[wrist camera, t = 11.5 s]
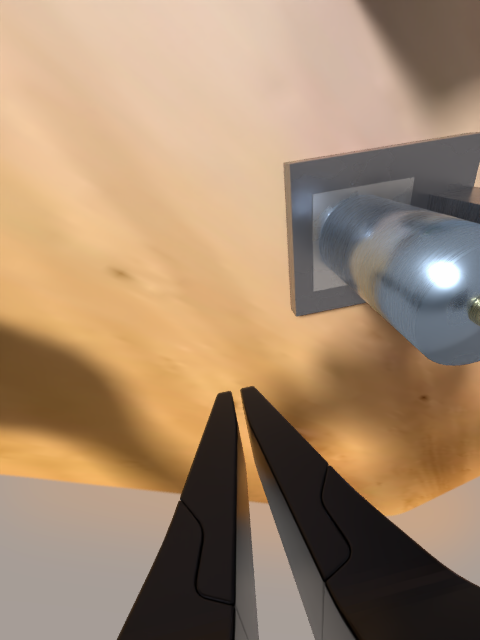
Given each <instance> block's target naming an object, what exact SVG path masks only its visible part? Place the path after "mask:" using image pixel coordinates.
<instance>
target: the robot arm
mask: <svg viewBox="0 0 480 640" xmlns="http://www.w3.org/2000/svg"><path fill="white" fill-rule="evenodd" d="M240 392H241V398H242V404H243V409H244V414H245V419H246V424H247V428H248V433H249V438H250V442H251V447H252V452H253V456H254V460H255V464H256V467H257V471H258V474H259V477H260V480H261V482H262V485H263V488H264V491H265V494H266V497H267V500H268V503H269V506H270V509H271V511H272V515H273V517H274V520H275V523H276V526H277V529H278V532H279V535H280V538H281V541H282V544H283V547H284V550H285V552H286V556H287V558H288V561H289V564H290V567H291V570H292V573H293V576H294V579H295V582H296V585H297V588H298V590H299V593H300V596H301V599H302V602H303V605H304V608H305V611H306V614H307V617H308V620H309V623H310V626H311V628H312V631H313V634H314V637H315V640H480V587H479V586H477V585H475V584H473V583H471V582H470V581H468V580H466V579H464V578H463V577H461V576H459V575H458V574H456V573H455V572H453V571H452V570H450V569H449V568H447V567H446V566H444V565H443V564H442V563H440V562H439V561H438V560H437V559H436V558H434V557H433V556H432V555H431V554H429V553H428V552H427V551H426V550H425V549H423V548H422V547H421V546H420V545H419V544H417V543H416V542H415V541H414V540H412V538H410V537H409V536H408V535H407V534H405V533H404V532H403V531H402V530H401V529H400V528H398V527H397V526H396V525H395V524H394V523H392V522H391V521H390V520H389V519H388V518H386V517H385V516H384V515H383V514H382V513H380V512H379V511H378V510H377V509H376V508H375V507H374V506H372V505H371V504H370V503H369V502H368V501H367V500H366V499H364V498H363V497H362V496H361V495H360V494H359V493H358V492H357V491H356V490H355V489H354V488H352V487H351V486H350V485H349V484H348V483H347V482H346V481H345V480H344V479H343V478H342V477H341V476H340V475H339V474H338V473H337V472H336V471H335V470H334V469H333V467H332V466H329V464H328V463H327V461H326V460H325V459H324V458H323V457H322V456H321V455H320V454H319V453H318V452H317V451H316V450H315V449H314V448H313V447H312V446H311V445H310V444H309V443H308V442H307V441H306V440H305V439H304V438H303V437H302V436H301V435H300V434H299V433H298V431H297V430H296V429H295V428H294V427H293V426H292V425H291V424H290V423H289V422H288V421H287V420H286V419H285V418H284V417H283V416H282V415H281V414H280V413H279V412H278V411H277V410H276V409H275V408H274V407H273V406H272V405H271V404H270V403H269V401H268V400H267V399H266V398H265V397H264V396H263V395H262V394H261V393H260V392H259V391H258V390H257V389H256V388H255V387H253V386H250V387H246V388H242V389H241V390H240ZM180 500H181V501H179V502H178V504H177V507H176V510H175V513H174V516H173V518H172V521H171V524H170V526H169V528H168V531H167V534H166V536H165V539H164V541H163V543H162V546H161V548H160V550H159V552H158V554H157V556H156V559H155V561H154V563H153V565H152V567H151V569H150V572H149V574H148V576H147V578H146V580H145V582H144V584H143V586H142V588H141V590H140V593H139V594H138V597H137V599H136V601H135V603H134V605H133V607H132V609H131V611H130V613H129V615H128V617H127V619H126V621H125V624H124V626H123V628H122V630H121V632H120V634H119V636H118V638H117V640H259V636H258V622H257V609H256V595H255V581H254V568H253V554H252V541H251V528H250V514H249V500H248V486H247V473H246V464H245V458H244V453H243V447H242V442H241V437H240V432H239V427H238V422H237V417H236V412H235V406H234V401H233V396H232V392H231V391H227V392H222V393H219V394H218V395H217V397H216V400H215V402H214V405H213V408H212V411H211V413H210V416H209V419H208V422H207V425H206V427H205V430H204V433H203V436H202V438H201V441H200V444H199V447H198V449H197V452H196V455H195V458H194V461H193V463H192V466H191V469H190V472H189V474H188V477H187V480H186V483H185V485H184V488H183V491H182V494H181V497H180Z"/></svg>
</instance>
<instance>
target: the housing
mask: <svg viewBox="0 0 480 640" xmlns="http://www.w3.org/2000/svg"><path fill="white" fill-rule="evenodd" d="M319 249H320V254H321V257H322V260H323V261H324V263H325V264H326V266H327V267H328V268H329V269H331V270H332V271H333V272H334V273H335V274H336V275H337V276H338V277H339V278H340V279H341V280H343V281H344V282H345V283H346V284H347V285H348V286H349V287H350V288H351V289H352V290H354V291H355V292H356V293H357V294H358V295H359V296H360V297H361V298H362V299H363V300H364V301H366V302H367V303H368V304H369V305H370V306H371V307H372V308H373V309H374V310H375V311H377V312H378V313H379V314H380V315H381V316H382V317H383V318H384V319H385V320H386V321H387V322H389V323H390V324H391V325H392V326H393V327H394V328H395V329H396V330H397V331H398V332H400V333H401V334H402V335H403V336H404V337H405V338H406V339H407V340H408V341H409V342H410V343H412V344H413V345H414V346H415V347H416V348H417V349H418V350H419V351H420V352H421V353H423V354H424V355H425V356H426V357H427V358H428V359H430V360H432V361H433V362H436V363H439V364H443V365H452V366H455V365H465V364H470V363H474V362H478V361H480V224H478V223H474V222H471V221H467V220H463V219H460V218H456V217H452V216H449V215H445V214H441V213H438V212H434V211H430V210H427V209H423V208H419V207H415V206H412V205H408V204H404V203H401V202H397V201H393V200H390V199H386V198H382V197H379V196H375V195H359V196H355V197H353V198H350V199H348V200H346V201H344V202H343V203H341V204H340V205H339V206H338V207H337V208H335V209H334V210H333V212H332V213H331V214H330V215H329V217H328V218H327V220H326V221H325V223H324V225H323V228H322V230H321V234H320V239H319Z"/></svg>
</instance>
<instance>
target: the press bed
mask: <svg viewBox="0 0 480 640" xmlns="http://www.w3.org/2000/svg"><path fill="white" fill-rule="evenodd" d="M479 162H480V132H476V133H466V134H460V135H453V136H447V137H441V138H435V139H429V140H422V141H416V142H410V143H404V144H398V145H391V146H385V147H379V148H373V149H367V150H361V151H354V152H348V153H342V154H336V155H330V156H323V157H317V158H311V159H305V160H299V161H293V162H286V163H284V179H285V199H286V218H287V238H288V258H289V277H290V297H291V309H292V311H293V313H294V314H295V316H301V315H306V314H311V313H316V312H321V311H326V310H331V309H336V308H341V307H346V306H351V305H356V304H361V303H366V301H364V300H363V299H362V298H361V297H360V296H359V295H358V294H357V293H356V292H355V291H354V290H352V289H351V288H350V287H349V286H348V285H347V284H346V283H345V282H344V281H343V280H341V279H340V278H339V277H338V276H337V275H336V274H335V273H334V272H333V271H332V270H331V269H329V268H328V267H327V266H326V264H325V263H324V261H323V260H322V257H321V254H320V249H319V239H320V234H321V230H322V228H323V225H324V223H325V221H326V220H327V218H328V217H329V215H330V214H331V213H332V212H333V210H334V209H335V208H337V207H338V206H339V205H340V204H341V203H343V202H344V201H346V200H348V199H350V198H353V197H355V196H359V195H375V196H379V197H382V198H386V199H390V200H393V201H397V202H401V203H404V204H408V205H412V206H415V207H419V208H423V209H427V210H430V211H434V212H438V213H441V214H445V215H449V216H452V217H456V218H460V219H463V220H467V221H471V222H474V223H478V224H480V188H479V187H474V183H475V179H476V174H477V170H478V166H479Z"/></svg>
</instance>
